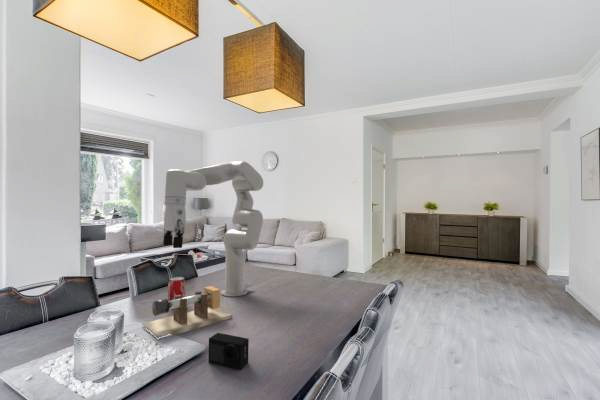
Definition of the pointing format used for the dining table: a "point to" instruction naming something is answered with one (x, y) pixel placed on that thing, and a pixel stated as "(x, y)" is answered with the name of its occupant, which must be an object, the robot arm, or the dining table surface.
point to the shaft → (174, 303)
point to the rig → (187, 318)
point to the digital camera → (228, 351)
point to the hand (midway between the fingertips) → (172, 246)
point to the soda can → (176, 288)
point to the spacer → (213, 297)
